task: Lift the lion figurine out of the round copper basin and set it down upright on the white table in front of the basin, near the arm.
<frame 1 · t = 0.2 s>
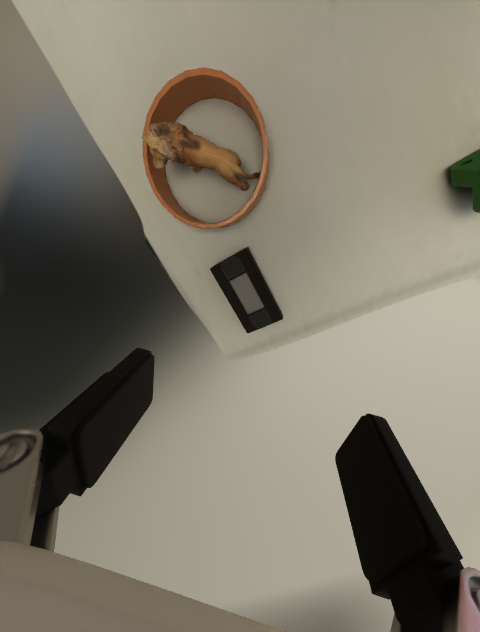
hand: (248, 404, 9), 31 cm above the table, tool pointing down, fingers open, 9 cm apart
lion figurine: (213, 167, 32), resting in basin
basin: (213, 167, 32), on the table
vhs tape: (248, 290, 40), on the table
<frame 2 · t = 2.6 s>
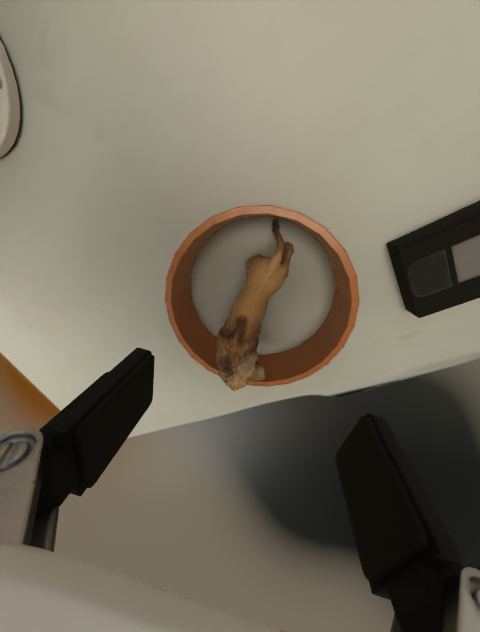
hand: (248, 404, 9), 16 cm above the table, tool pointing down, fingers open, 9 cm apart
lion figurine: (259, 294, 24), resting in basin
basin: (259, 295, 23), on the table
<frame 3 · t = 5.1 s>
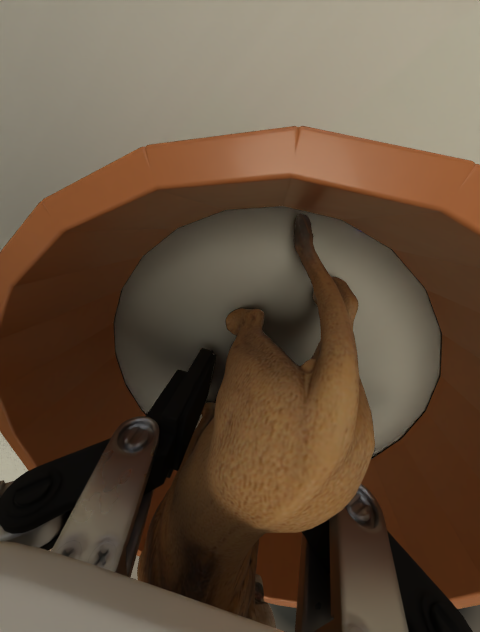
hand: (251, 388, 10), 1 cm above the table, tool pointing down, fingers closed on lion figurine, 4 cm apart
lion figurine: (258, 378, 11), resting in basin, touching gripper
basin: (256, 380, 11), on the table
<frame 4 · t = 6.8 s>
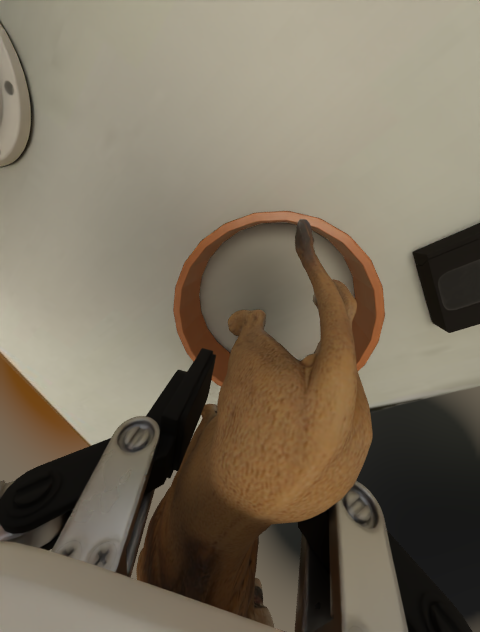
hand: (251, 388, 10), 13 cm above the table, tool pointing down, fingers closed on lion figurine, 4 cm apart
lion figurine: (259, 380, 11), point 12 cm above the table, touching gripper
basin: (271, 305, 22), on the table
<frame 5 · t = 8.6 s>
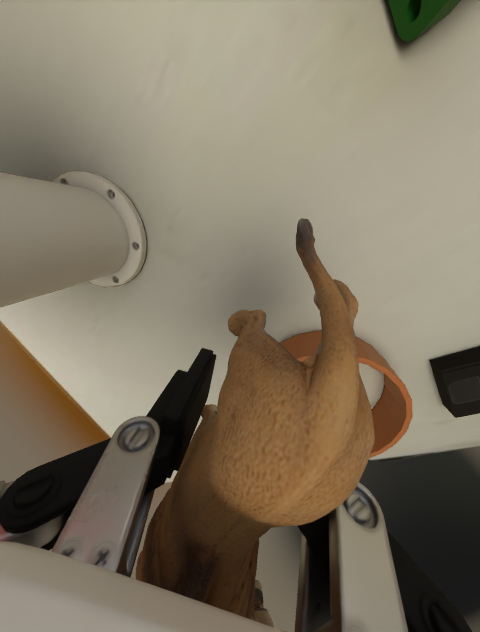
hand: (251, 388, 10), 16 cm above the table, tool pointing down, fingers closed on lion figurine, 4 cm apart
lion figurine: (259, 380, 11), point 15 cm above the table, touching gripper
basin: (319, 385, 29), on the table
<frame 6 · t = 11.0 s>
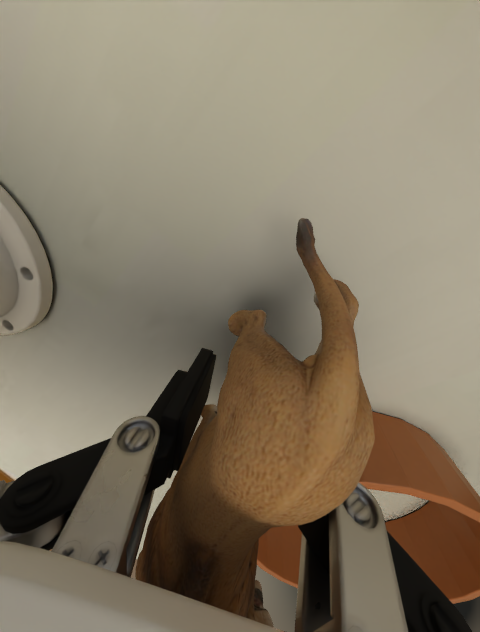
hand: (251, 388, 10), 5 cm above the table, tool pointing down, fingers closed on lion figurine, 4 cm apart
lion figurine: (259, 380, 11), point 4 cm above the table, touching gripper
basin: (338, 477, 19), on the table
when the fingers open (1 cm above the table, at t = 12.4 s): lion figurine stays where it is, on the table.
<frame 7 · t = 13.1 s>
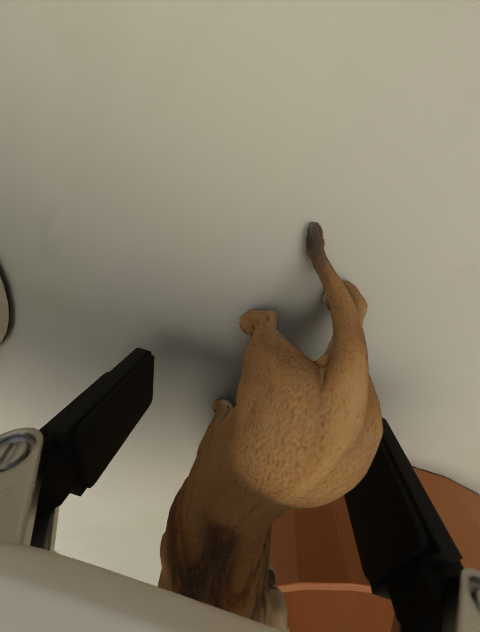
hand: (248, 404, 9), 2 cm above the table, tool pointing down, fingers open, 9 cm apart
lion figurine: (269, 376, 11), on the table
basin: (358, 534, 16), on the table
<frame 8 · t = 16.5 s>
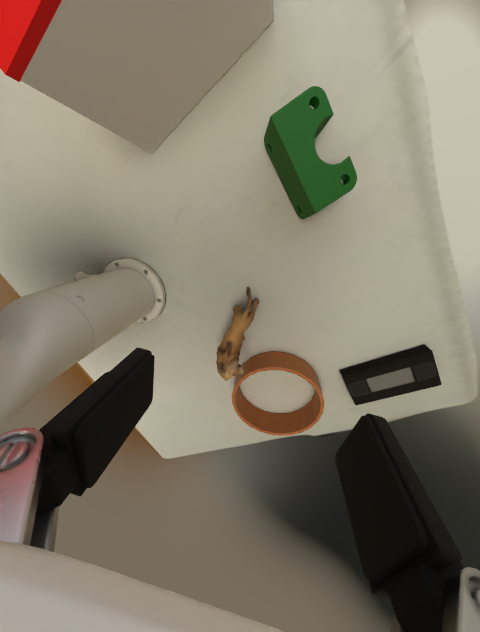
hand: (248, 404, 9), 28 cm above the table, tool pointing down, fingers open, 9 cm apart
lion figurine: (241, 324, 40), on the table
basin: (276, 385, 44), on the table
green bracket: (305, 167, 28), on the table
vhs tape: (384, 372, 39), on the table
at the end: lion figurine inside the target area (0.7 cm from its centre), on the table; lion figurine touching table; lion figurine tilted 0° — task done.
